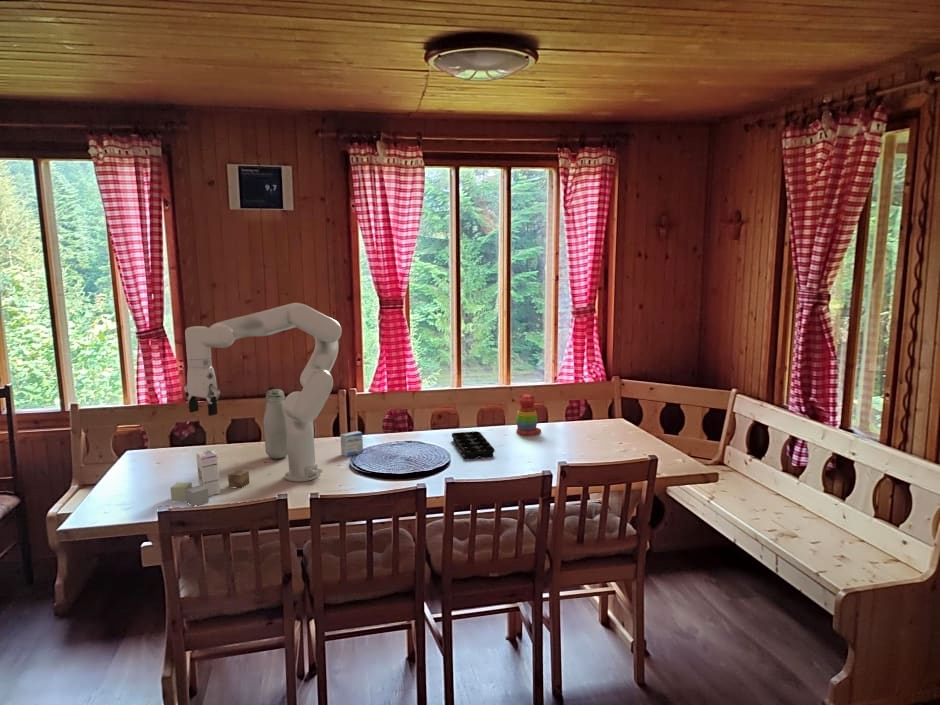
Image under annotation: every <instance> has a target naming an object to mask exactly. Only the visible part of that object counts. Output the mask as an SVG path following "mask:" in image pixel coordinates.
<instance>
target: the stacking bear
mask: <svg viewBox="0 0 940 705" xmlns="http://www.w3.org/2000/svg"><path fill="white" fill-rule="evenodd" d="M535 402H536V401H535V395H533V394H527V393H525V394H523V393H522V394H520V395H519V405H520V406H519V408H518V410H517V413H516V418H515V419H516V420H515V421H516V426H517V428H516V431H515V432H516V434H517V435H518V436H522V437H532V436H537V435H539V434H540V433H541V432H542V430H541V428H539V427H537V424H538V414H537V411H536V408H535V407H534V405H535Z"/></svg>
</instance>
